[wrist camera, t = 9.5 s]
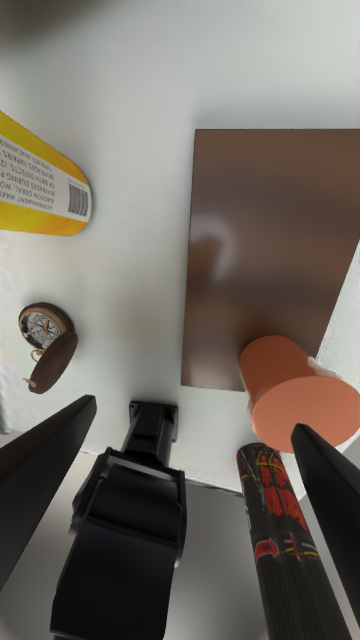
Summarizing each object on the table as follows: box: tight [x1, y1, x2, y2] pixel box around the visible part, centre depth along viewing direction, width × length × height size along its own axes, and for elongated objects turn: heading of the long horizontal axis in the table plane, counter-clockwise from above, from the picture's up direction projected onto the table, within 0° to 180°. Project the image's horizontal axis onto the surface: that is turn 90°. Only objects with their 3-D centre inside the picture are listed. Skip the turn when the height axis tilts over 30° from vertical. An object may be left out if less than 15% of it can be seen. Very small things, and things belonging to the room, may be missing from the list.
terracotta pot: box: [238, 335, 360, 454], centre depth 15 cm, size 7×7×6 cm
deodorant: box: [237, 443, 352, 640], centre depth 19 cm, size 6×6×15 cm
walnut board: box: [181, 129, 360, 392], centre depth 17 cm, size 22×13×2 cm, turn 178°
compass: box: [19, 303, 78, 394], centre depth 18 cm, size 8×8×7 cm
